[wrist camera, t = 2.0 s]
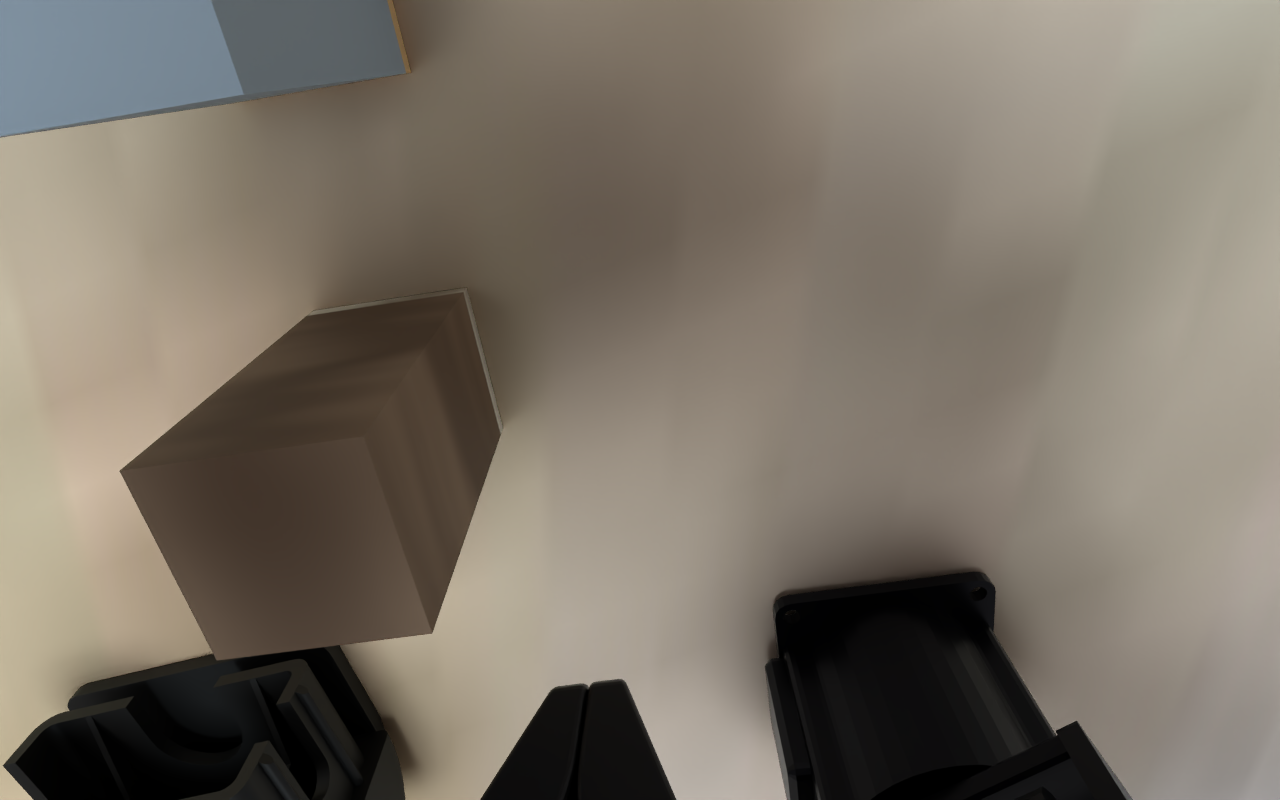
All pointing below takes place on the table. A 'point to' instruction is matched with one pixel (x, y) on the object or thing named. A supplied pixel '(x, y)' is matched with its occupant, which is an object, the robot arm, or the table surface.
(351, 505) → the walnut block
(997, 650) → the robot arm
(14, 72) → the slate block
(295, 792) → the end cap
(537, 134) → the table surface
